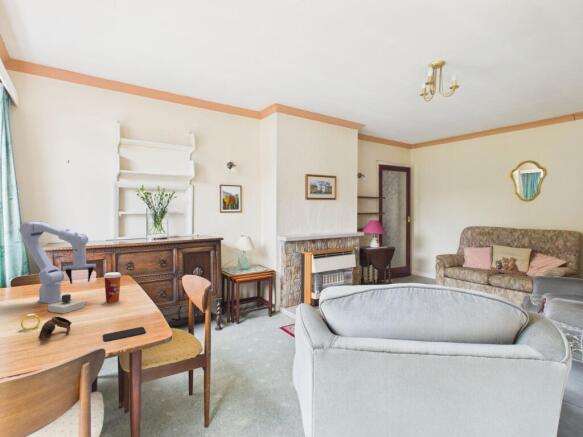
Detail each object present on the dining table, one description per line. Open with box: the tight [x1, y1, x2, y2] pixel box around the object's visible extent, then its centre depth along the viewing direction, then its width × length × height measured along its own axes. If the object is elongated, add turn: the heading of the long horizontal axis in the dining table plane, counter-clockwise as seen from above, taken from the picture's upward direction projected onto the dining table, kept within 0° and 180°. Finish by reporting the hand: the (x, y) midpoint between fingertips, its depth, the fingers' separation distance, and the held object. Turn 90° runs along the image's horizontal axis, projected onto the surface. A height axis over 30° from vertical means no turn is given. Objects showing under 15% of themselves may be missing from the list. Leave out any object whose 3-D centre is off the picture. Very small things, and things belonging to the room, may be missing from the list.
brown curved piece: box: [38, 315, 73, 340], centre depth 121 cm, size 12×10×8 cm
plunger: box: [61, 293, 72, 304], centre depth 152 cm, size 4×4×7 cm
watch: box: [20, 313, 41, 330], centre depth 128 cm, size 6×3×6 cm, turn 128°
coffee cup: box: [103, 271, 122, 304], centre depth 166 cm, size 8×8×15 cm
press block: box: [47, 299, 84, 314], centre depth 152 cm, size 10×10×3 cm
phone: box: [102, 326, 147, 343], centre depth 124 cm, size 7×1×15 cm
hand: (80, 282), depth 163 cm, fingers open, 7 cm apart
